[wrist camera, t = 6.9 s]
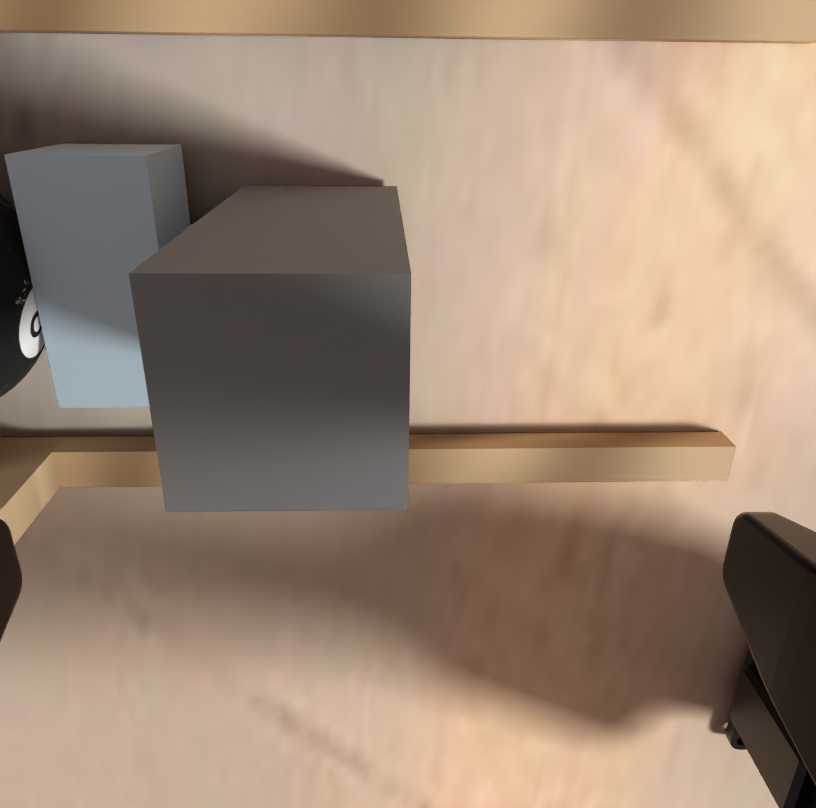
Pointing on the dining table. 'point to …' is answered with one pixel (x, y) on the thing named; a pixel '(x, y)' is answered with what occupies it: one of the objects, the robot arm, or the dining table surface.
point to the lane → (451, 19)
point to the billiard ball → (16, 304)
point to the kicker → (227, 324)
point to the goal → (26, 479)
